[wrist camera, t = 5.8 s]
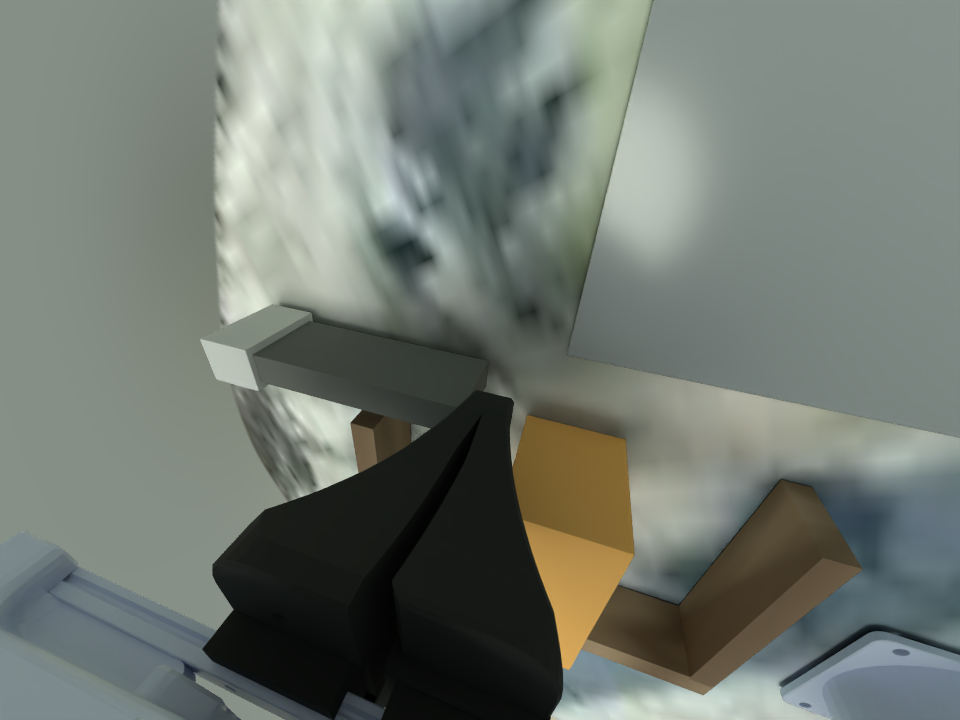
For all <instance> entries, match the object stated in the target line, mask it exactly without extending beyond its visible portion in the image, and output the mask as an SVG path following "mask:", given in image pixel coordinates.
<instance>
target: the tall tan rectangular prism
mask: <svg viewBox="0 0 960 720" xmlns="http://www.w3.org/2000/svg"><path fill="white" fill-rule="evenodd" d="M513 476H514V482H515V488H516V492H517V497H518V502H519V506H520V511H521V515H522V519H523V522H524V526H525V529H526V533H527V536H528V540H529V543H530V547H531V550H532V553H533V556H534V559H535V562H536V565H537V568H538V571H539V574H540V576H541V579H542V582H543V584H544V587H545V590H546V592H547V595H548V597H549V600H550V602H551V605H552V607H553V610H554V614H555V620H556V626H557V631H558V637H559V643H560V650H561V658H562V667H563V668H565V669H568V670H569V669H570V667H571V666H572V664H573V662H574V660H575V659H576V657H577V655H578V653H579V652H580V650H581V648H582V646H583V645H584V643H585V641H586V639H587V638H588V636H589V634H590V632H591V631H592V629H593V627H594V625H595V623H596V622H597V620H598V618H599V616H600V615H601V613H602V611H603V609H604V608H605V606H606V604H607V602H608V601H609V599H610V597H611V595H612V594H613V592H614V590H615V588H616V587H617V585H618V583H619V581H620V580H621V578H622V576H623V574H624V573H625V571H626V569H627V567H628V566H629V564H630V562H631V560H632V559H633V557H634V555H635V554H634V541H633V528H632V515H631V503H630V490H629V477H628V464H627V451H626V439H622V438H618V437H614V436H610V435H606V434H602V433H598V432H594V431H590V430H586V429H582V428H578V427H574V426H570V425H566V424H562V423H558V422H554V421H550V420H546V419H542V418H538V417H534V416H530V415H527V418H526V422H525V425H524V429H523V433H522V436H521V440H520V443H519V447H518V450H517V454H516V458H515V461H514V465H513Z"/></svg>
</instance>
